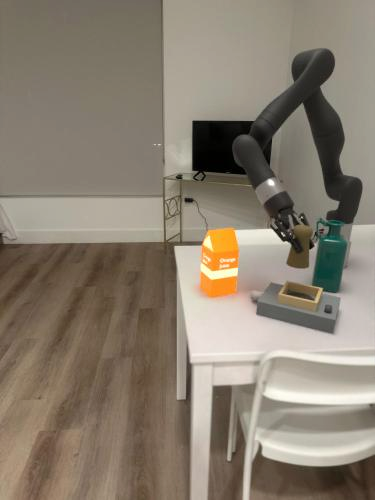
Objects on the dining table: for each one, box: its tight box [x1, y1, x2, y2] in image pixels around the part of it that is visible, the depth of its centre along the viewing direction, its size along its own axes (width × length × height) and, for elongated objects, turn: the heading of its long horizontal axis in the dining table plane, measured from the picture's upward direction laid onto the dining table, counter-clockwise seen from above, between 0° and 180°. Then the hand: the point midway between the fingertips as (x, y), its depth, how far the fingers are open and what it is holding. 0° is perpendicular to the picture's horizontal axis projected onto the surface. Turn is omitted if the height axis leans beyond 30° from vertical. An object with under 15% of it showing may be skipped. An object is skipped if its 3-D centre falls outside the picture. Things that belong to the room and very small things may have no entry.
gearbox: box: [250, 280, 342, 335], centre depth 101 cm, size 24×14×6 cm, turn 63°
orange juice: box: [199, 227, 240, 299], centre depth 109 cm, size 8×9×20 cm
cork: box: [286, 225, 314, 270], centre depth 97 cm, size 6×6×11 cm
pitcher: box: [311, 217, 348, 293], centre depth 114 cm, size 10×8×22 cm
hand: (306, 250), depth 96 cm, fingers closed on cork, 4 cm apart
